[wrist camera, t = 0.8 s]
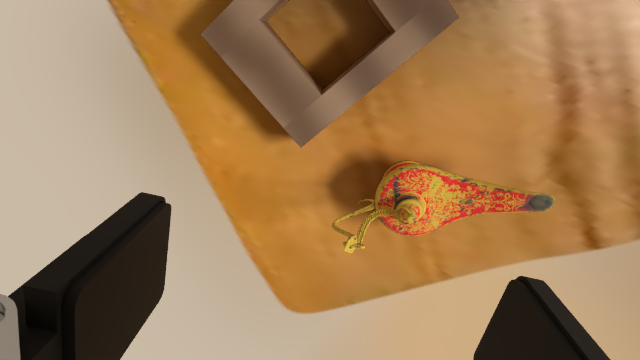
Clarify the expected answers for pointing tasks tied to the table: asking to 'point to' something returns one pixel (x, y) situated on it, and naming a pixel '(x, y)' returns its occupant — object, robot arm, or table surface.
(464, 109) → the table surface
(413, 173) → the magic lamp
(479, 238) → the table surface
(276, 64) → the shaker holder
